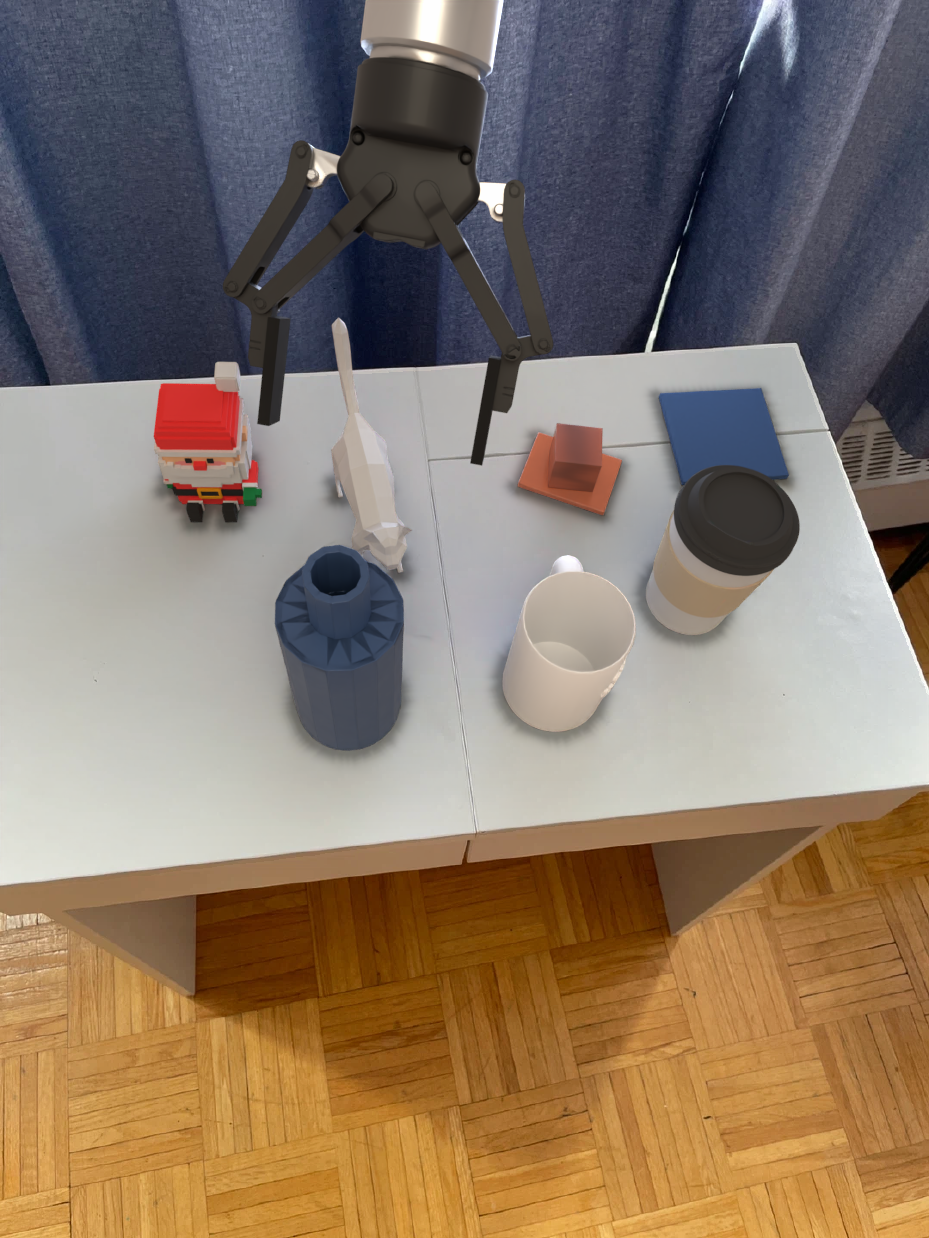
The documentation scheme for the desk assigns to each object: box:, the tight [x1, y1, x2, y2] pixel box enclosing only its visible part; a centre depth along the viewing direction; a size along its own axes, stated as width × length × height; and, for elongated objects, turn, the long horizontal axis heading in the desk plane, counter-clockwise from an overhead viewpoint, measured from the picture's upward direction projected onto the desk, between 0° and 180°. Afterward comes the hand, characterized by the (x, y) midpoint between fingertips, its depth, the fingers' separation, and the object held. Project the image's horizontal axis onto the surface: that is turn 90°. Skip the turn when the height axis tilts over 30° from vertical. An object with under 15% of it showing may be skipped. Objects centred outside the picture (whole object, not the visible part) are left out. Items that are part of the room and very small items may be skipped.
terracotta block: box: [548, 422, 604, 492], centre depth 81 cm, size 4×4×4 cm
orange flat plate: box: [517, 431, 623, 516], centre depth 83 cm, size 8×6×1 cm
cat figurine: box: [330, 317, 413, 574], centre depth 74 cm, size 4×20×14 cm, turn 14°
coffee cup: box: [645, 465, 801, 636], centre depth 72 cm, size 9×9×15 cm
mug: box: [501, 554, 637, 733], centre depth 70 cm, size 8×12×12 cm
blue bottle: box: [274, 544, 405, 752], centre depth 63 cm, size 8×8×21 cm
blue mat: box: [658, 387, 790, 486], centre depth 87 cm, size 10×10×1 cm
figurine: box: [153, 361, 263, 523], centre depth 75 cm, size 8×7×12 cm
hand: (372, 442), depth 60 cm, fingers open, 13 cm apart
